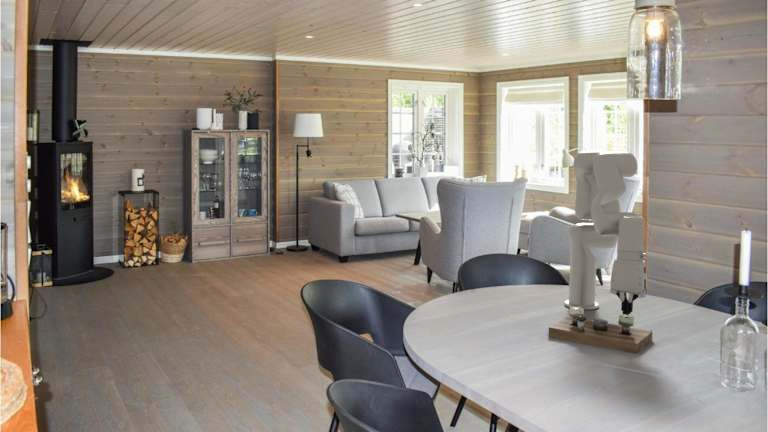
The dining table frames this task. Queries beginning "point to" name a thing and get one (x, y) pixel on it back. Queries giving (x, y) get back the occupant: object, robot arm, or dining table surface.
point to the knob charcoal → (600, 324)
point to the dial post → (581, 322)
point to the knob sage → (626, 323)
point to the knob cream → (574, 312)
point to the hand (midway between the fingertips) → (626, 313)
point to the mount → (602, 335)
